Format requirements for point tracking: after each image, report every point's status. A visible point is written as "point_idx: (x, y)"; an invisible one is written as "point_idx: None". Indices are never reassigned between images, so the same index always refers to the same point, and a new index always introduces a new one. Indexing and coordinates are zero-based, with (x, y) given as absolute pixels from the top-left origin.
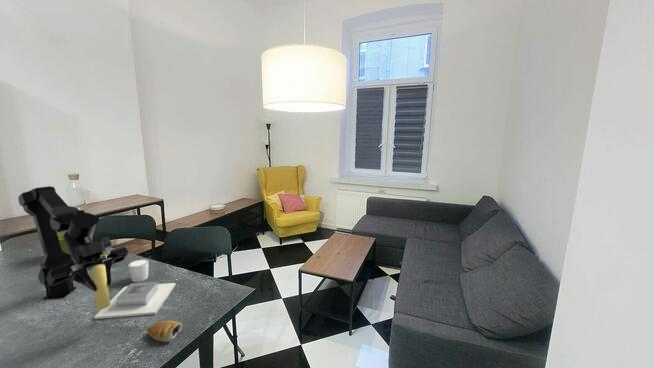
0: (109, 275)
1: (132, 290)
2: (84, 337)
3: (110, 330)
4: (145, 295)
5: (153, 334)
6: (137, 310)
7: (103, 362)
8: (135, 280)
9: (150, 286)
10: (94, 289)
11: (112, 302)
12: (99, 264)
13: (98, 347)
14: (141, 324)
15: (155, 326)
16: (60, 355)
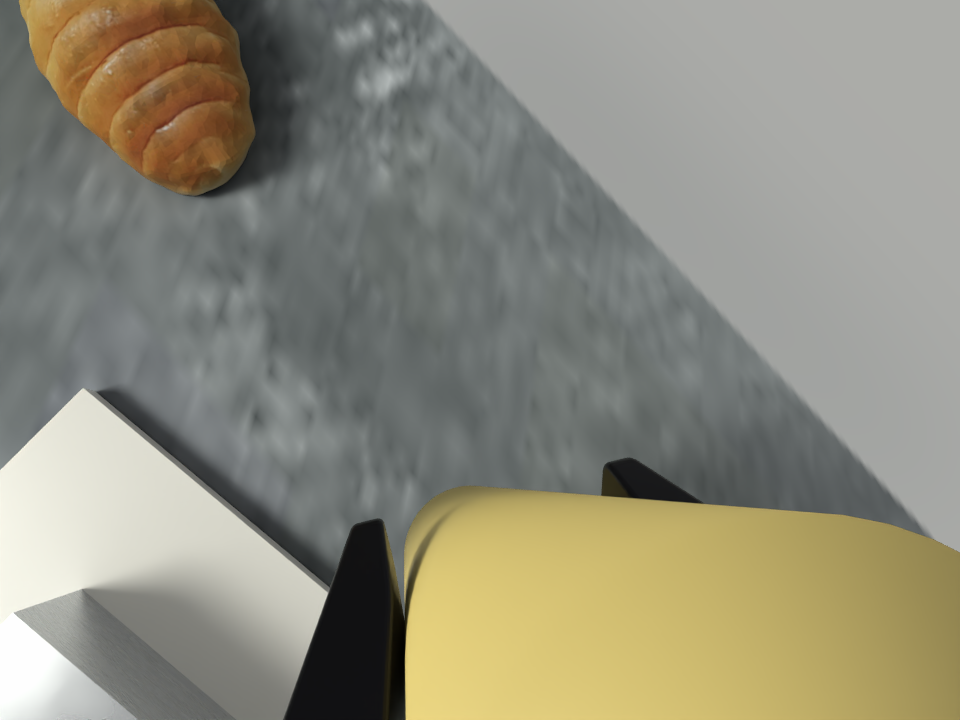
0: (318, 705)
1: None
2: (590, 490)
3: (435, 436)
4: (14, 624)
5: (233, 48)
6: (188, 547)
7: (534, 117)
8: None
9: None
10: (647, 467)
11: None
12: None
13: (534, 287)
14: (239, 330)
15: (186, 71)
16: (720, 389)
